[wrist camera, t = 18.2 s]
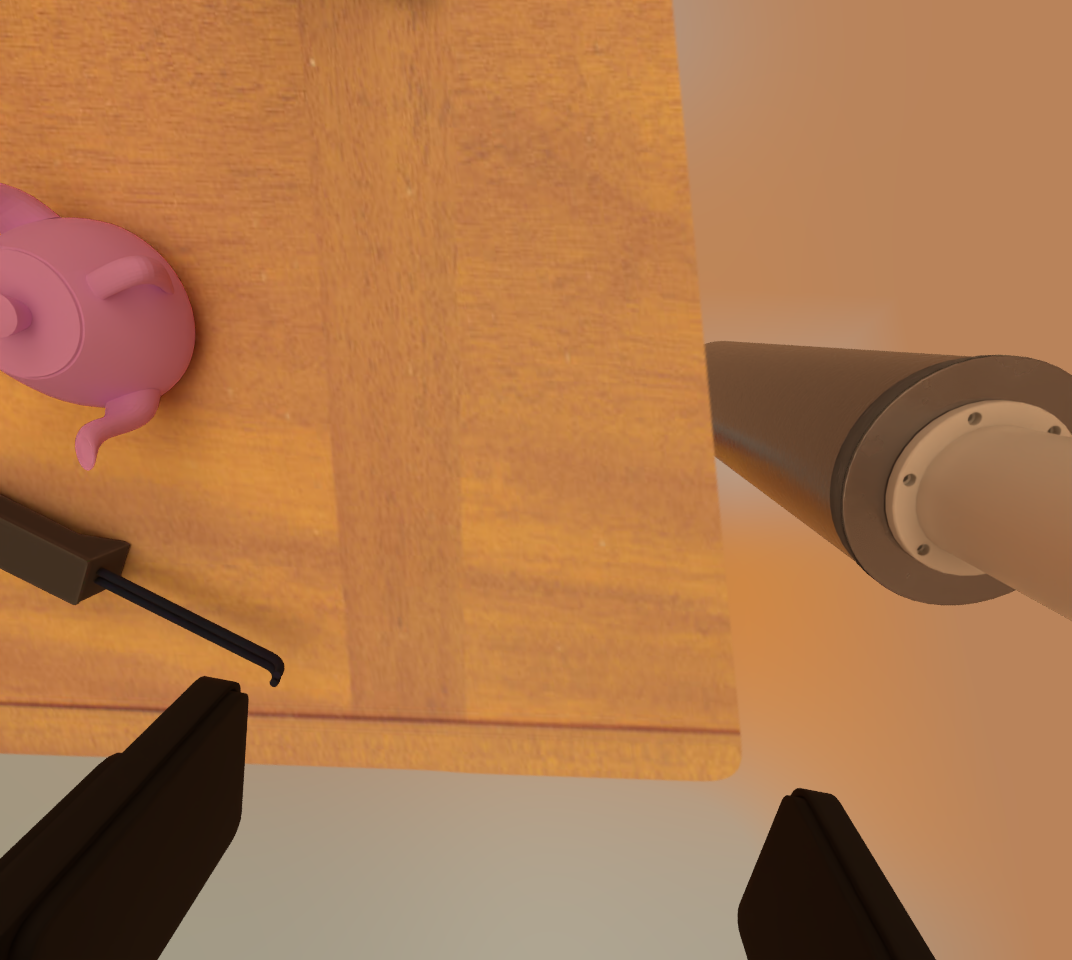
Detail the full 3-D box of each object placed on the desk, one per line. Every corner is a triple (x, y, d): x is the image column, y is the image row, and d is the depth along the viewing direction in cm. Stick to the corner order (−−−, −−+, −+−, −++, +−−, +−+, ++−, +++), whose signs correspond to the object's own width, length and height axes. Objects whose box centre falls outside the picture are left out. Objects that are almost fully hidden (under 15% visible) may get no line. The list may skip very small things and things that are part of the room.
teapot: (189, 440, 38) (86, 473, 30) (-5, 345, 37) (-172, 350, 28) (246, 284, 35) (150, 270, 27) (38, 173, 34) (-135, 120, 25)
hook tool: (-53, 498, 41) (297, 673, 41) (-114, 511, 38) (269, 703, 38) (-45, 455, 40) (314, 634, 40) (-106, 464, 37) (287, 661, 37)
